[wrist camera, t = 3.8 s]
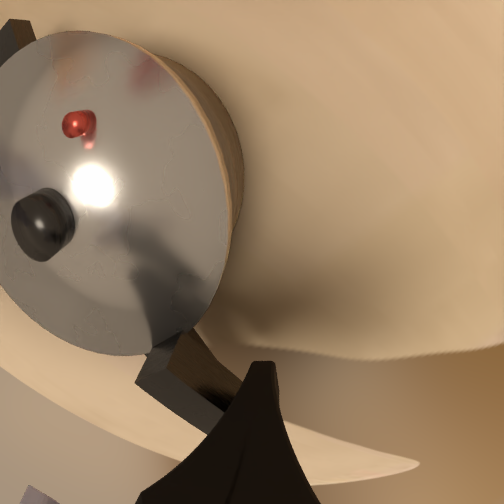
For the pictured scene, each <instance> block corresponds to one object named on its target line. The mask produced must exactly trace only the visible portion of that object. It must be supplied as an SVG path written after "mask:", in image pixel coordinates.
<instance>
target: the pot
mask: <svg viewBox="0 0 504 504" xmlns="http://www.w3.org/2000/svg"><path fill="white" fill-rule="evenodd" d="M34 41H36V37H35V35H34V32H33V29H32V26H31V23H30V21H28V20H17V19H9V20H8V21H7V23H6V24H5V25H4V26H3V28H2V29H1V30H0V67H1V66H2V65H3V64H4V63H5V62H6V61H7V60H8V59H9V58H10V57H12V56H13V55H14V54H15V53H16V52H17V51H19V50H21V49H22V48H24V47H25V46H27V45H28V44H30V43H31V42H34ZM153 55H154V54H153ZM155 56H156V57H158V58H159V59H161V60H162V61H163V62H164V63H165V64H166V65H167V66H168V67H169V68H171V69H172V70H173V71H174V72H175V73H176V74H177V75H178V76H179V77H180V78H181V79H182V81H183V82H184V83H185V84H186V86H187V87H188V88H189V89H190V91H191V92H192V93H193V95H194V96H195V97H196V99H197V100H198V102H199V104H200V105H201V107H202V109H203V111H204V112H205V114H206V116H207V118H208V119H209V121H210V123H211V125H212V128H213V130H214V133H215V135H216V138H217V140H218V142H219V145H220V147H221V150H222V154H223V158H224V161H225V165H226V169H227V173H228V177H229V184H230V192H231V200H232V231H233V229H234V226H235V224H236V222H237V219H238V216H239V212H240V209H241V205H242V199H243V192H244V163H243V156H242V150H241V146H240V142H239V138H238V135H237V132H236V129H235V127H234V125H233V122H232V120H231V118H230V115H229V114H228V112H227V110H226V109H225V107H224V105H223V104H222V102H221V100H220V99H219V98H218V97H217V95H216V94H215V93H214V92H213V90H212V89H211V88H210V87H209V86H208V85H207V84H206V83H205V82H204V81H203V80H202V79H201V78H200V77H198V76H197V75H196V74H195V73H193V72H192V71H190V70H189V69H187V68H186V67H184V66H183V65H181V64H179V63H177V62H175V61H172V60H170V59H168V58H165V57H161V56H158V55H155ZM187 334H188V335H189V336H190V337H191V338H192V339H194V340H195V341H196V342H197V343H198V344H199V345H200V346H201V347H202V348H204V349H205V350H206V351H207V352H208V353H209V354H210V355H212V356H213V357H214V355H213V354H212V353H211V351H210V350H209V349H208V347H207V346H206V345H205V343H204V342H203V340H202V339H201V338H200V336H199V335H198V334H197V332H196V331H195V329H194V328H192V329H191V330H190V331H189V332H188V333H187ZM148 355H149V353H146V354H145V356H146V357H148ZM214 358H215V357H214ZM215 359H216V358H215ZM216 360H217V359H216Z"/></svg>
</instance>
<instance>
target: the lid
mask: <svg viewBox="0 0 504 504" xmlns="http://www.w3.org/2000/svg"><path fill="white" fill-rule="evenodd" d="M231 235H232V200H231V192H230V184H229V177H228V173H227V169H226V165H225V161H224V158H223V154H222V150H221V147H220V145H219V142H218V140H217V138H216V135H215V133H214V130H213V128H212V125H211V123H210V121H209V119H208V118H207V116H206V114H205V112H204V111H203V109H202V107H201V105H200V104H199V102H198V100H197V99H196V97H195V96H194V95H193V93H192V92H191V91H190V89H189V88H188V87H187V86H186V84H185V83H184V82H183V81H182V79H181V78H180V77H179V76H178V75H177V74H176V73H175V72H174V71H173V70H172V69H171V68H169V67H168V66H167V65H166V64H165V63H164V62H163V61H162V60H161V59H159V58H158V57H156V56H155V55H153V54H152V53H150V52H149V51H147V50H145V49H144V48H142V47H141V46H139V45H136V44H134V43H131V42H129V41H127V40H124V39H122V38H119V37H115V36H111V35H107V34H101V33H96V32H90V31H66V32H61V33H56V34H52V35H48V36H45V37H43V38H41V39H38V40H36V41H34V42H31V43H30V44H28V45H27V46H25V47H24V48H22V49H21V50H19V51H17V52H16V53H15V54H14V55H13V56H12V57H10V58H9V59H8V60H7V61H6V62H5V63H4V64H3V65H2V66H1V67H0V285H1V286H2V287H3V289H4V290H5V291H6V293H7V294H8V295H9V296H10V297H11V299H12V300H13V301H14V302H15V303H16V304H17V305H18V306H19V307H20V308H21V309H22V310H23V311H24V312H25V313H26V314H27V315H28V316H29V317H30V318H31V319H33V320H34V321H35V322H36V323H38V324H39V325H40V326H42V327H43V328H44V329H46V330H47V331H49V332H50V333H52V334H53V335H55V336H57V337H59V338H60V339H62V340H64V341H66V342H68V343H70V344H72V345H75V346H77V347H80V348H83V349H85V350H89V351H92V352H96V353H100V354H107V355H113V356H133V355H142V354H146V353H149V355H148V357H147V359H146V361H145V363H144V365H143V367H142V369H141V371H140V373H139V375H138V377H137V379H136V381H135V384H136V385H138V386H139V387H140V388H142V389H143V390H144V391H145V392H147V393H148V394H149V395H151V396H152V397H153V398H155V399H156V400H157V401H159V402H160V403H161V404H163V405H164V406H165V407H167V408H168V409H170V410H171V411H172V412H174V413H175V414H177V415H178V416H180V417H181V418H183V419H184V420H186V421H187V422H188V423H190V424H191V425H193V426H195V427H196V428H198V429H199V430H201V431H202V432H204V433H205V434H207V435H208V434H209V433H210V432H211V430H212V429H213V428H214V427H215V425H216V424H217V423H218V421H219V420H220V418H221V417H222V416H223V414H224V413H225V411H226V410H227V408H228V407H229V405H230V404H231V402H232V400H233V399H234V397H235V395H236V394H237V392H238V390H239V388H240V386H241V385H242V383H243V382H242V381H241V380H240V379H239V378H238V377H236V376H235V375H234V374H233V373H232V372H230V371H229V370H228V369H227V368H226V367H224V366H223V365H222V364H221V363H220V362H219V361H217V360H216V359H215V358H214V357H213V356H212V355H210V354H209V353H208V352H207V351H206V350H205V349H204V348H202V347H201V346H200V345H199V344H198V343H197V342H196V341H195V340H194V339H192V338H191V337H190V336H189V335H188V334H187V333H188V332H189V331H190V330H191V329H192V328H193V327H194V326H195V325H196V324H197V323H198V322H199V320H200V319H201V317H202V316H203V315H204V313H205V312H206V310H207V309H208V307H209V305H210V303H211V301H212V299H213V297H214V295H215V293H216V291H217V289H218V286H219V283H220V281H221V278H222V275H223V272H224V269H225V265H226V262H227V259H228V255H229V248H230V242H231Z"/></svg>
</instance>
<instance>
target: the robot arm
mask: <svg viewBox="0 0 504 504" xmlns="http://www.w3.org/2000/svg"><path fill="white" fill-rule="evenodd" d="M20 504H59V503H58V502H56V501H55V500H54V499H52V498H51V497H49V496H47V495H46V494H44V493H42V492H41V491H39V490H37V489H35V488H34V487H32V486H30V485H28V487H27V489H26V492H25V493H24V496H23V498H22V500H21V502H20ZM135 504H321V503H320V502H319V500H318V498H317V497H316V495H315V493H314V492H313V490H312V488H311V486H310V484H309V482H308V481H307V479H306V477H305V474H304V472H303V470H302V468H301V466H300V464H299V462H298V460H297V457H296V455H295V453H294V450H293V448H292V445H291V443H290V440H289V437H288V434H287V432H286V429H285V425H284V422H283V419H282V416H281V412H280V408H279V386H278V379H277V372H276V366H275V363H274V362H273V361H254V362H252V364H251V366H250V368H249V370H248V373H247V375H246V377H245V379H244V381H243V383H242V385H241V386H240V388H239V390H238V392H237V394H236V395H235V397H234V399H233V400H232V402H231V404H230V405H229V407H228V408H227V410H226V411H225V413H224V414H223V416H222V417H221V418H220V420H219V421H218V423H217V424H216V425H215V427H214V428H213V429H212V430H211V432H210V433H209V434H208V435H207V437H206V438H205V439H204V440H203V441H202V442H201V443H200V444H199V445H198V447H197V448H196V449H195V450H194V451H193V452H192V453H191V454H190V455H189V456H188V457H187V458H186V459H184V460H183V461H182V462H181V463H180V464H179V465H178V466H176V467H175V468H174V469H173V470H172V471H170V472H169V473H168V474H167V475H165V476H164V477H163V478H161V479H160V480H159V481H157V482H156V483H154V484H153V485H151V486H150V487H149V488H147V489H145V490H144V491H142V492H141V493H140V495H139V497H138V499H137V501H136V503H135Z"/></svg>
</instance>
